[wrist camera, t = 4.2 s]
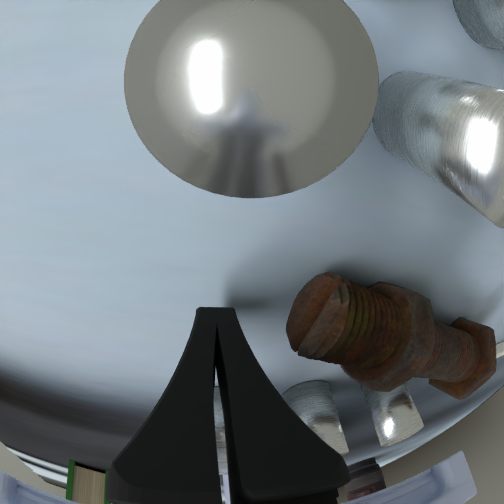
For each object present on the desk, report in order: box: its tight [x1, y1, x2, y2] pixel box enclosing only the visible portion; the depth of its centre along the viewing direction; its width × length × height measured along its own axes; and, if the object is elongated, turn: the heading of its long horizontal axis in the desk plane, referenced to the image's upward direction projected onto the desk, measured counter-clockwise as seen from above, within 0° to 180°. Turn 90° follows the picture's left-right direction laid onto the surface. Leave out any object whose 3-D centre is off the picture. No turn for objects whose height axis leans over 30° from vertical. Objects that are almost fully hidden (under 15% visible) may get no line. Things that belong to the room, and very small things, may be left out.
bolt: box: [286, 272, 496, 400], centre depth 12 cm, size 6×5×15 cm
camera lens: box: [344, 458, 386, 501], centre depth 36 cm, size 8×8×15 cm
